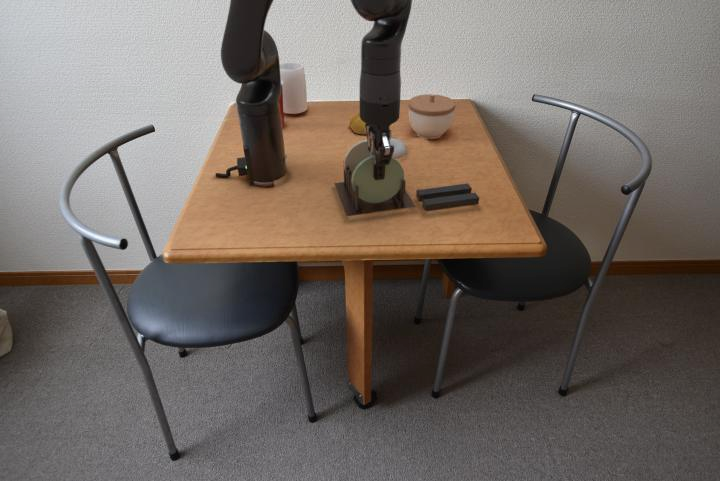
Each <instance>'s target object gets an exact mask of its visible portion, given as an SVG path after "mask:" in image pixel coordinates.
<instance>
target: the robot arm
mask: <svg viewBox="0 0 720 481" xmlns="http://www.w3.org/2000/svg"><path fill="white" fill-rule="evenodd" d="M274 1H275V0H230V2H229V9H228V13H227V18H226V23H225V27H224V32H223V36H222V42H221V45H220V46H221V47H220V61H221V66H222V68H223V70H224V72H225V74H226V75H227V76H228V78H229V79H230V80H231V81H233V82H234V83H236V84H239V85H240V84H241V85H240V88H239V91H238V93H237V94H236V97H235V107H236V111H237V117H238V123H239V129H240V135H241V140H242V148H243V149H242V150H243V155H244V156H243V157H236V165H234V166H230V167H228V168H227V169H225V173H221V172H216V173H215V177H216V178H225V179H227V178H229V177H231V175H232V173H231V172H233V171H237V174H238V177H245V176H247V179H248V184H249V186H256V187H266V188H267V187H274V186H275V181H278V180H280V179H282V178H284V177H285V176H286V175H287V173H288V166H287V155H286V150H285V142H284V140H285V139H284V133H283V132H284V131H283V128H282V123H281V114H280V105H279V98H280V94H281V77H280V64H281V63H280V55H279V54H280V53H279V49H278V46H277V44H276V41H275V39H274V38H273V36H272V35H271V34H270V33H269V32H268V31H267V30H265V26H266V21H267V17H268V15H269V12H270V10H271V7H272V6H273V3H274ZM350 4H351V5H352V7H353V9H354V10H355V12H356V13H357V14H358V15H359V17H361V18H362V19H363V20H365V21H368V22H373V25H372V27H371V29H370V30H369V31H368V32H367V33H366V34H365V35H363V37H362V39H361V43H360V75H359V113H360V119H361V120H362V121H363V122H365V127H366V134H365V135H366V139H367V142H368V150H369V152H370V156H371V155H374V160H373V163H374V174H373V177H374V179H375V180H383V179H384V178H385V165H389V163H390V160H391V158H392V155H393V152H394V146H393V145H392V146H390V140H391V138H392V129H391V128H390V126H391V125H392V124H395V123H397V122H398V121H399V119H400V114H401V92H402V77H401V64H402V44H403V40H404V37H405V34H406V30H407V26H408V22H409V18H410V14H411V12H412V11H411V10H412V6H413V0H350Z"/></svg>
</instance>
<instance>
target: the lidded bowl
mask: <svg viewBox="0 0 720 481" xmlns="http://www.w3.org/2000/svg"><path fill="white" fill-rule="evenodd" d="M407 105H408V120H409V125H410V127H411V129H412V130H413V131H414V132H415V133H416V135H417V137H418V138H424V139H426V140H436V139H439V138H441V137H442V135H443V134H446V132H447V131H448V130H449V129H450V127H451V125H452V123H453V120H454V116H455V108H456V101H454V99H453V98H450V97H449V96H445V95H440V94H431V93H430V94H419V95H416V96H413V97H411V98H409V100H408V104H407Z"/></svg>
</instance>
